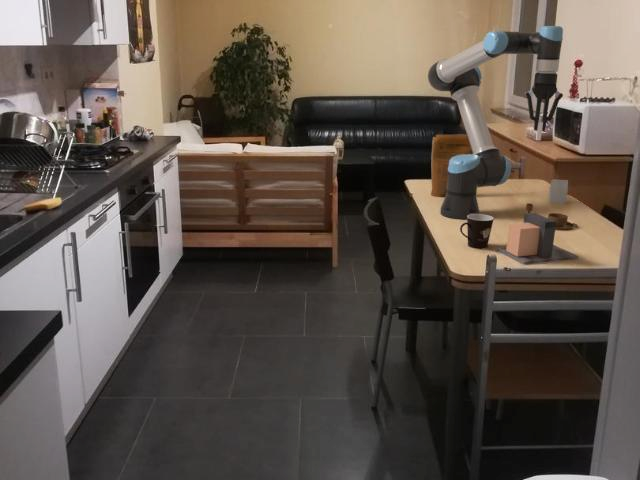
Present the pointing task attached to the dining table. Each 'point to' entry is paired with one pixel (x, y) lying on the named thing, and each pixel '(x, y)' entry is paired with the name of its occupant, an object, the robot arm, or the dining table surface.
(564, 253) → the base board
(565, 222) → the place setting
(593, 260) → the dining table surface
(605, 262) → the dining table surface
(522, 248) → the peach box
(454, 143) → the pancake mix bag
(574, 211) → the dining table surface
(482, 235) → the coffee mug
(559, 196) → the tea bag
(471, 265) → the dining table surface
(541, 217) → the dark grey archway
